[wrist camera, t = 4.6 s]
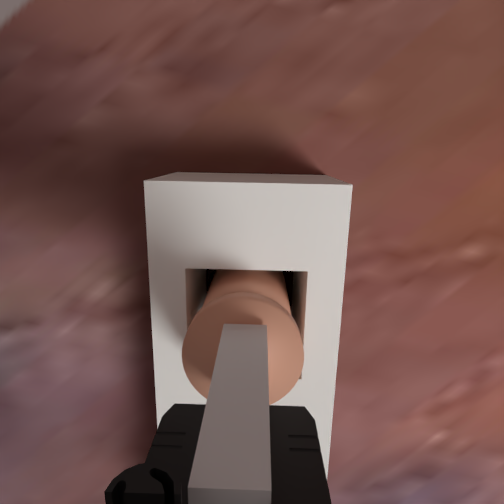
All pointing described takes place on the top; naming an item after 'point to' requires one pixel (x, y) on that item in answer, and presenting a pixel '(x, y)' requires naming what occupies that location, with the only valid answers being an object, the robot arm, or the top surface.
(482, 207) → the top surface
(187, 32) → the top surface
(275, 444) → the robot arm
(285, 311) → the tan rounded peg
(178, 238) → the block
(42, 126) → the top surface
